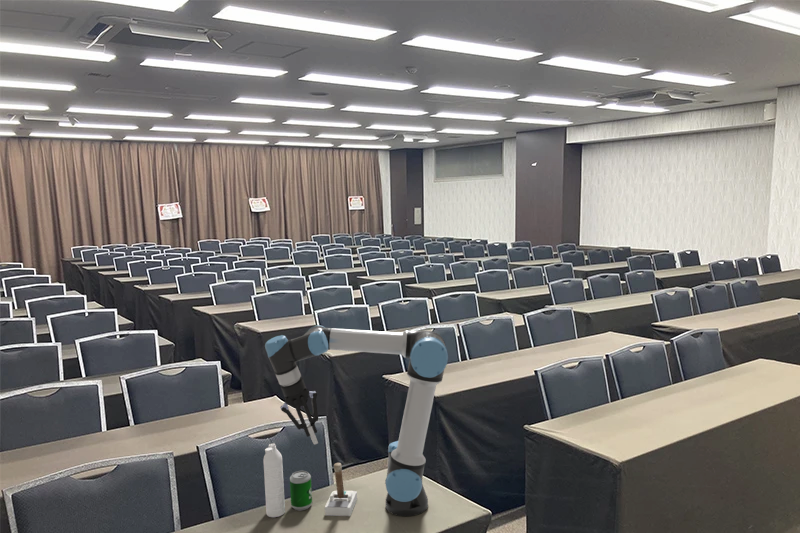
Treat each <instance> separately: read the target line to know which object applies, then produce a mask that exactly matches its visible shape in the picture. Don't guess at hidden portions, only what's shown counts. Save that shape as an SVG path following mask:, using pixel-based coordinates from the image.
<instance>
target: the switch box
mask: <svg viewBox="0 0 800 533" xmlns="http://www.w3.org/2000/svg"><path fill="white" fill-rule="evenodd" d="M334 494H337V489H336V490H333V491H332V492H331V493H330V495H329V498H328V500H327V501H326V503H325V506H324V516H332V517H333V516H335V517H336V516H338V517H339V516H340V517H351V515H352V513H353V510H354V508H355V506H356V503H357V500H358V491H356V490H344V495H348V498H341V499H340V498H334Z"/></svg>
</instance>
